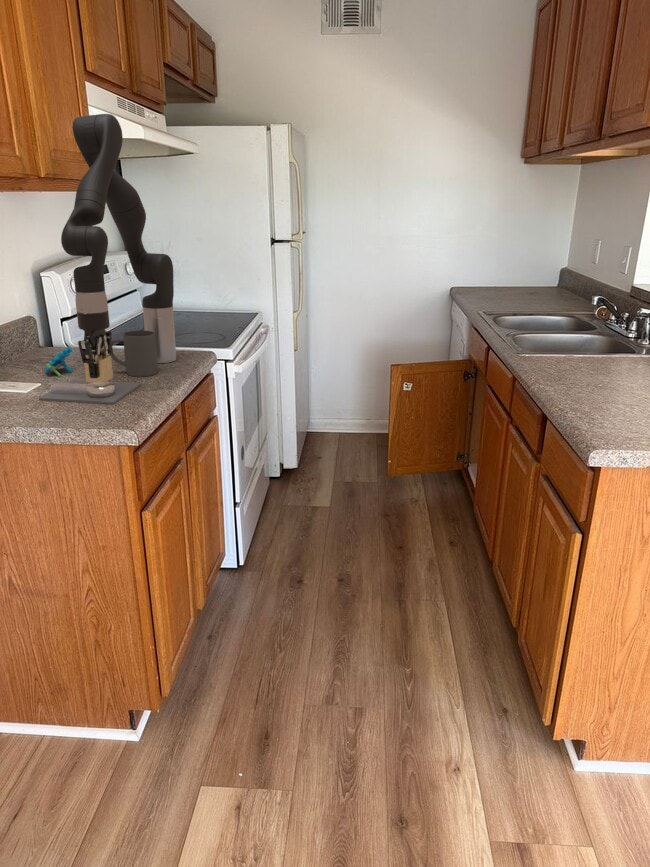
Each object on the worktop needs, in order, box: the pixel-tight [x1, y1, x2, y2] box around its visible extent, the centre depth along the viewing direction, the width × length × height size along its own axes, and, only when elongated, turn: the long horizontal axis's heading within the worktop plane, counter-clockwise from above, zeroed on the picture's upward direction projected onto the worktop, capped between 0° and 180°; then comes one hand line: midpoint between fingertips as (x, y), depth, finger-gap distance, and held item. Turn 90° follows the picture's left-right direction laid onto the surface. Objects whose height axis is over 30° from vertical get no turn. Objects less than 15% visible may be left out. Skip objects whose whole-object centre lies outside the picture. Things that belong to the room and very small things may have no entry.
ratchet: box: [49, 381, 115, 398], centre depth 168 cm, size 7×16×6 cm, turn 83°
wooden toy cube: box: [83, 354, 114, 383], centre depth 166 cm, size 5×5×6 cm
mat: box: [38, 379, 142, 405], centre depth 171 cm, size 18×20×1 cm
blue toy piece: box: [44, 346, 73, 377], centre depth 189 cm, size 11×6×10 cm
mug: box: [109, 329, 159, 378], centre depth 189 cm, size 14×9×12 cm
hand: (99, 374), depth 166 cm, fingers closed on wooden toy cube, 5 cm apart
